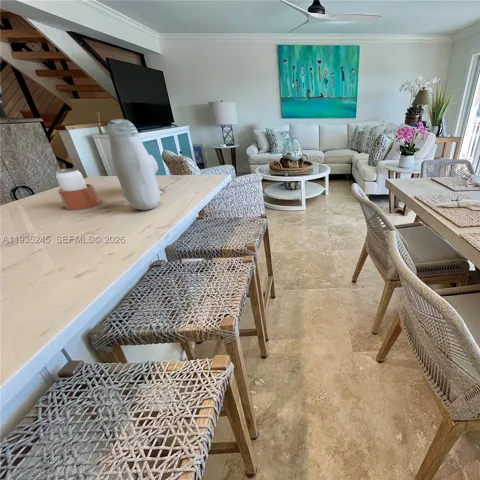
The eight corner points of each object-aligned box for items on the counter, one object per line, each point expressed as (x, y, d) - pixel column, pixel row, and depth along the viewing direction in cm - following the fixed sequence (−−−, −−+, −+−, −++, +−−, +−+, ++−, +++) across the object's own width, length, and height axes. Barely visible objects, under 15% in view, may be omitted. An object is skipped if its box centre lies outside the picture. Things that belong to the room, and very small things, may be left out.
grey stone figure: (169, 206, 92) (145, 118, 79) (138, 216, 84) (106, 120, 71) (154, 201, 97) (129, 117, 84) (124, 210, 89) (91, 119, 76)
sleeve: (75, 213, 86) (66, 193, 83) (61, 209, 90) (51, 189, 87) (106, 205, 94) (98, 185, 90) (92, 201, 97) (84, 182, 94)
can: (74, 203, 93) (59, 169, 87) (96, 201, 95) (82, 167, 89) (66, 209, 87) (49, 173, 82) (89, 207, 89) (74, 171, 84)
